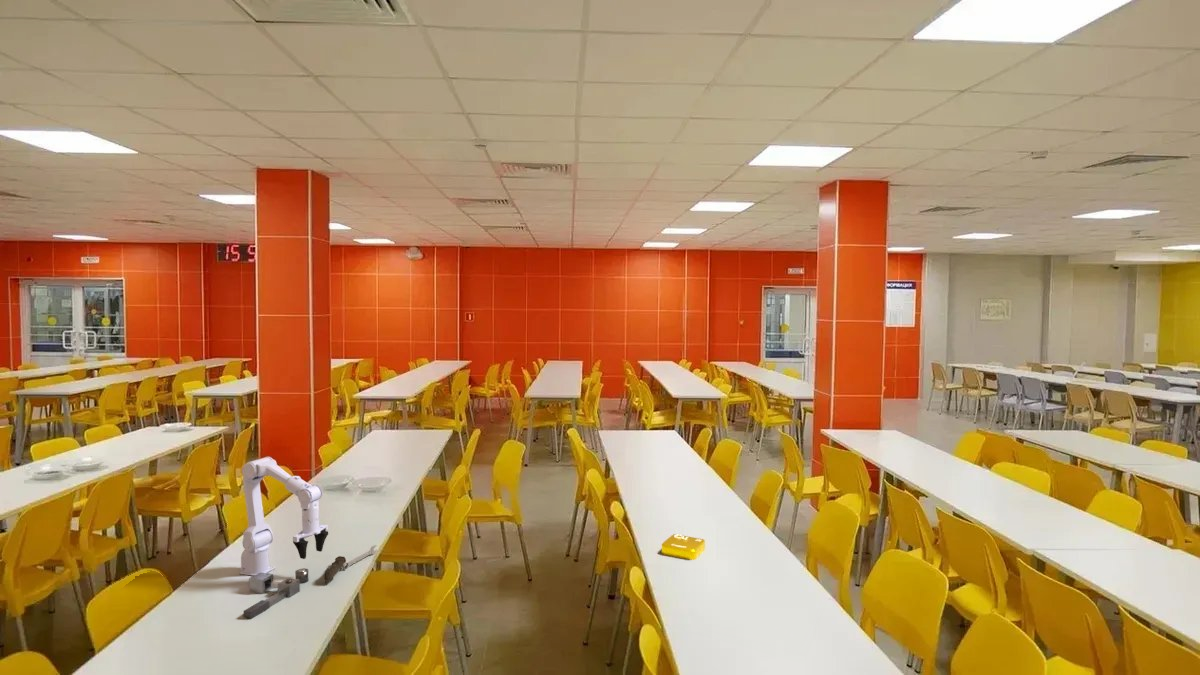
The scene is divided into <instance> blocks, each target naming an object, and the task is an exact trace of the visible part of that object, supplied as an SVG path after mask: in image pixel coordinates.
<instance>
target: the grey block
mask: <svg viewBox="0 0 1200 675" xmlns="http://www.w3.org/2000/svg"><path fill="white" fill-rule="evenodd" d="M272 582H274V573H269V572H267V573H261V572H260V573H258V574H256V575H254V576H250V577H249V586H248V587H249V593H252V594H253V593H254V594H260V595H261V594H262V595H264V594H265V593H267V592H268V591H270V590H272V589H273V588H271V583H272Z"/></svg>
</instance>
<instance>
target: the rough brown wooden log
mask: <svg viewBox="0 0 1200 675" xmlns="http://www.w3.org/2000/svg"><path fill="white" fill-rule="evenodd" d="M345 562H346V563H347V558H346V557H345V556H341V555H338V556H337V557H335V559H334V562H331V564H330V565H331V566H330V567H328V568H326V570H325V571H324V574H323V576H324V578H323V579H324V585H325V586H326V585H328V584H330V583H331V582H332V581H333V580H334V577H335V576H336V574H338V572H339V570H341V569H342V566H343V564H344V563H345Z"/></svg>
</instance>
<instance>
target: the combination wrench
mask: <svg viewBox="0 0 1200 675" xmlns="http://www.w3.org/2000/svg"><path fill="white" fill-rule="evenodd" d="M376 547H377V545H376V544H375V545H372V546H371V547H370V549H369V550H368V551H366V552H364V553H362V554H360V555H359V556H356V557H355V558H353V559H352V560H349V561H346V562H345V563H344V564H343V566H342V567H341V569H342V570H343V571H347V570H348V568H349V567H350V566H352V565H353V564H355V563H357V562H359V561H360V560H361V561H362V559H364V558H366V557H367V556H369V555H372V556H373V555H376V554H377V552H378V549H376V550H375V548H376Z"/></svg>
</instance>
